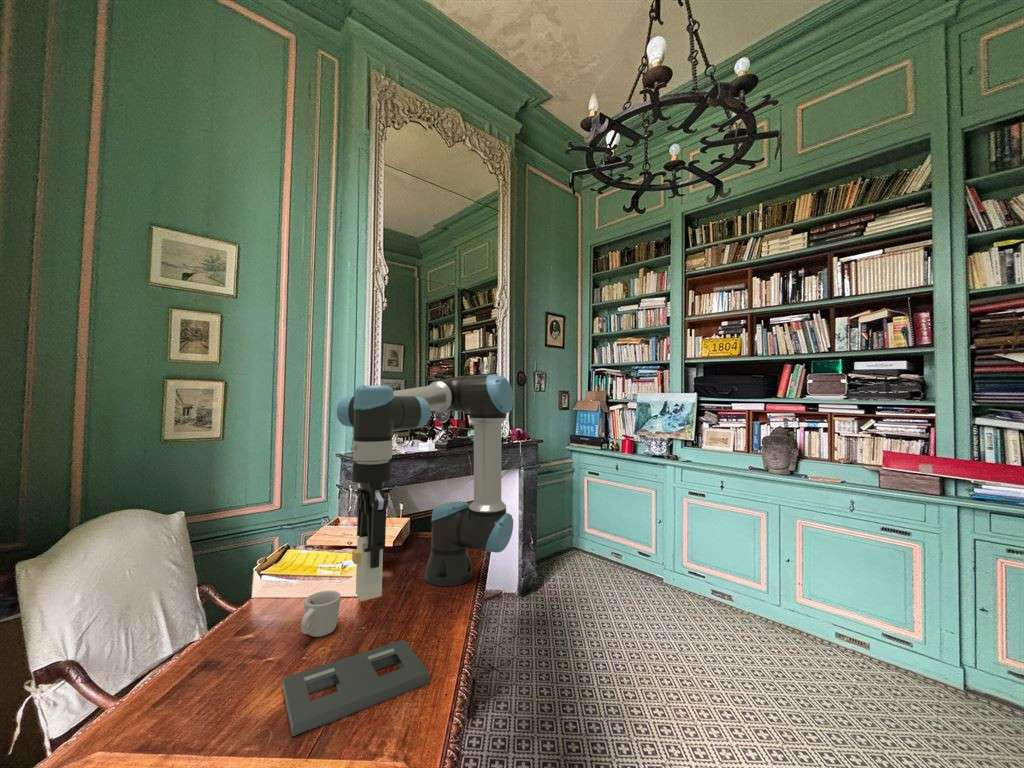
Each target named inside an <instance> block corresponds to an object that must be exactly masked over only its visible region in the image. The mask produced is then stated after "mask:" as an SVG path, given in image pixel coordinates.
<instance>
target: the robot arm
mask: <svg viewBox="0 0 1024 768" xmlns="http://www.w3.org/2000/svg"><path fill="white" fill-rule="evenodd" d="M513 406H514V392H513V388H512V386H511V384H510V382H509V380H508V379H507V378H506V377H505V376H503V375H497V374H496V375H495V374H488V375H487V374H486V375H485V374H484V375H481V374H480V375H460V376H459V375H458V376H454V377H450V378H445V379H441V380H437V381H432V382H430V384H428V385H425V386H418V387H412V388H406V389H399V390H398V389H397V390H394V389H393V387H392V386H389V385H379V384H377V385H375V384H374V385H371V384H369V385H368V384H367V385H366V384H365V385H359V386H357V387H356V389H355V391H354V395H351V396H349V395H348V396H345V397H343V398H342V399H340V401H339V402H338V404H337V407H336V417H337V420H338V421H339V423H340V424H341V425H343V426H344V427H349V428H353V445H351V446H350V451H351V452H352V460H353V461H355V462H353V464H352V468H351V470H352V473H351V475H352V476H351V479H352V481H353V482H354V483H357V484H361V485H360V486H361V487H360V488H359V487H358V488H357V489H356V495H357V508H356V509H357V517H356V519H357V520H356V535H357V537H358V538H360V537H365V536H368V548H366V549H364V552H366V569H365V585H370V584H374V583H379V582H380V570H381V549H383V550H384V549H386V536H387V535H386V533H387V532H386V526H387V508H388V503H389V500H388V498H387V497H385V491H384V489H383V483H385V482H388V481H390V480H391V479H392V462H391V461H390V460H392V458H393V431H398V430H399V431H400V430H416V429H420V428H422V427H424V426H426V425H427V423H429V421H430V419H431V412H432V411H434V412H437V413H442V412H448V411H449V412H460V413H461V412H462V413H463V412H464V413H468V416H469V418H468V420H470V421H471V422H472V423H473V501H472V502H471V503H470V504H469V503H468V502H466V501H453V502H452V501H451V502H445V503H441V504H438V505H435V506H434V508H433V509H432V514H431V520H430V521H431V538H430V539H431V541H430V543H431V545H430V549H431V550H430V555H429V558H428V560H427V563H426V567H425V571H424V580H425V581H426V582H427V583H428V584H430V585H433V586H437V587H454V586H459V585H463V584H465V582H466V583H467V581H468V580H469V581H471V579H472V578H473V566H472V563H471V559H470V555H469V553H468V549H472V550H479V551H484V552H486V553H498V554H499V553H501V552H503V551H504V550H505V549H506V548H507V546H508V545H509V543H510V540H511V537H512V535H513V531H514V518H513V515H512V514H510V513H509V512H507V505H506V504H505V502H504V501H503V500H502V424H503V423H504V421H505V420H506V419H507V414H508V413H510V412H511V411H512V410H513ZM471 577H472V578H471ZM469 581H468V582H469Z"/></svg>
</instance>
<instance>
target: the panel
mask: <svg viewBox="0 0 1024 768" xmlns="http://www.w3.org/2000/svg"><path fill="white" fill-rule="evenodd" d="M392 665H396V666H397V667H398V669H396V670H393V671H391V672H387V673H385V674H382V675H380V676H379V675H378V673H377V671H378V670H382V669H384V668H387V667H389V666H392ZM428 684H430V671H429V670H428V669H427V668H426V666H425V664H424V663H423V662H422V661H421V659H420V658H419V657H418V656H417V654H416V653H415V652H414V650H413V649H412V648H411V646H410V645H409V644H408V642H407V641H406V640H405V639H404V638H403V639H401V640H396V641H394V642H391V643H388V644H385V645H382V646H379V647H375V648H372V649H369V650H367V651H366V650H365V651H364V652H360V653H357V654H354V655H350V656H348V657H344V658H341V659H338V660H336V661H333V662H332V661H331V662H329V663H326V664H323V665H320V666H319V665H318V666H316V667H314V668H313V667H312V668H310V669H307V670H303V671H301V672H297V673H295V674H291V675H289V676H285V677H282V693H283V698H284V703H285V708H286V709H285V710H286V713H287V718H288V723H289V726H290V732H291V737H293V736H295V737H297V736H296V735H298V734H300V733H301V732H303V731H307V730H310V729H313V728H315V729H317V727H318V728H320V727H322V725H323V726H324V725H327V724H330V723H333V722H336V721H337V720H340V719H342V718H343V719H344V718H345V717H348V716H351V715H353V714H355V713H357V712H361V711H363V710H365V709H368V708H370V707H372V706H375V705H378V704H380V703H383V702H385V701H388V700H390V699H392V698H395V697H398V696H400V695H403V694H405V693H407V692H410V691H413V690H416V689H419V688H421V687H423V686H425V685H428ZM332 686H335V687H336V688H337V691H335V692H333V693H329V694H327V695H324V696H322V697H318V698H316V699H314V700H311V698H310V694H313V693H315V692H318V691H322V690H324V689H327V688H330V687H332ZM319 726H320V727H319ZM313 730H314V729H313ZM310 731H311V730H310ZM300 735H301V734H300ZM298 736H299V735H298ZM293 738H294V737H293Z"/></svg>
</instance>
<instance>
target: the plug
mask: <svg viewBox="0 0 1024 768" xmlns="http://www.w3.org/2000/svg"><path fill="white" fill-rule="evenodd" d="M356 544H357V545H356V549H352V551H351V552H352V554H351V561H352V562H353V564H354V565H356V571H355V572H356V575H355V578H356V579H355V594H356V596H357V598H358V599H359V601H360V602H364V601H369V600H371V599H372V600H373V599H376V598H380V597H382V595H383V563H384V561H383V559H384V558H383V556H384V549H381V570H380V582H379V583H374V584H370V585H365V569H366V552H364V549H366V548H368V536H365V537H360V538H359V537H357V539H356Z"/></svg>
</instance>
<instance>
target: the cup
mask: <svg viewBox="0 0 1024 768" xmlns="http://www.w3.org/2000/svg"><path fill="white" fill-rule="evenodd" d="M341 597H342V596H341V593H340V592H339V591H335V590H320V591H317V592H314V593H312V594H310V595H308V596H307V597H306V598H305V600H304V602H303V603H304V614H303V616H302V618H301V621H300V631H301V633H302V634H304V635H308V636H310V637H314V638H319V637H321V638H322V637H325V636H327V635H329V634H331V633H332V632H334V630H335V629H336V628H337V624H338V619H339V611H340V604H341Z"/></svg>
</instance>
